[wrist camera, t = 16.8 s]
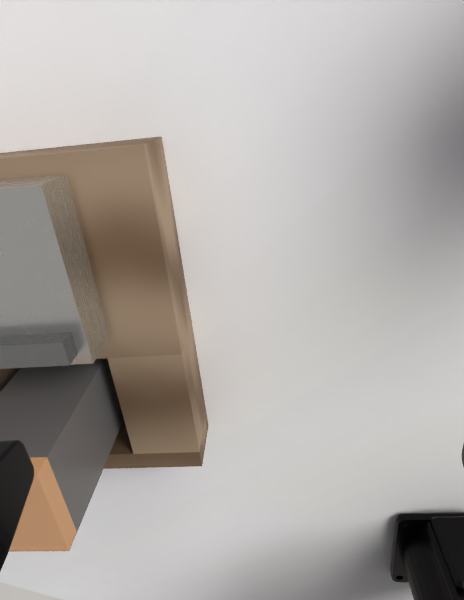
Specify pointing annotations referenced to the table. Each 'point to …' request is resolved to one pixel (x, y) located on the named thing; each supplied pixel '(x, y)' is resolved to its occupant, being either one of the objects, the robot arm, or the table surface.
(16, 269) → the panel
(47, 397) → the plug
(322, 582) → the table surface
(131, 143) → the socket board
